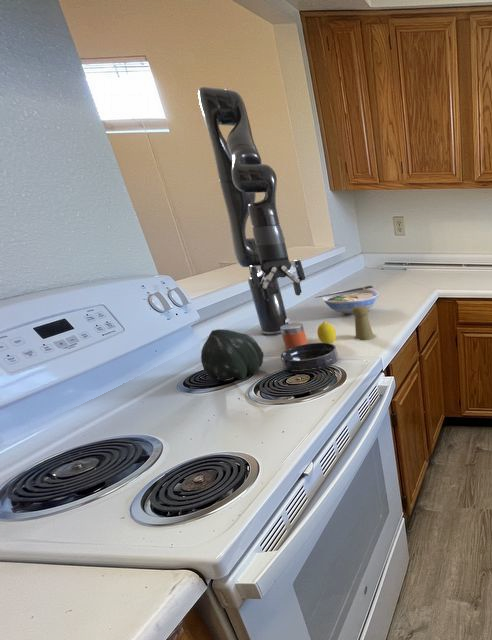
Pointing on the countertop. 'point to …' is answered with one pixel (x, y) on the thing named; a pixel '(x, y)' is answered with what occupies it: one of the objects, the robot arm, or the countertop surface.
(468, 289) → the countertop surface
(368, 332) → the olive flared column
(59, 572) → the countertop surface
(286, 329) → the can
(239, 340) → the squash
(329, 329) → the lemon
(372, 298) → the ramen bowl
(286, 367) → the pan
